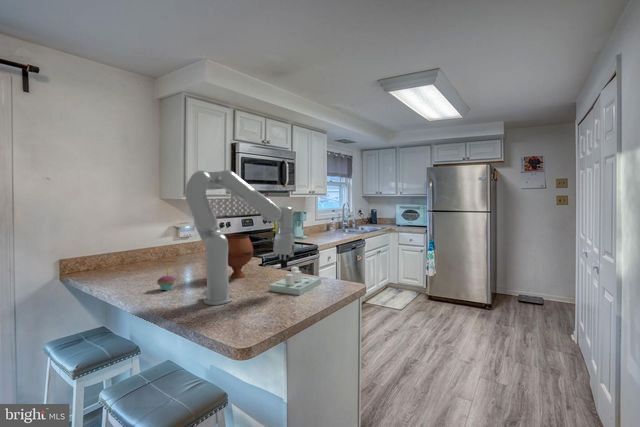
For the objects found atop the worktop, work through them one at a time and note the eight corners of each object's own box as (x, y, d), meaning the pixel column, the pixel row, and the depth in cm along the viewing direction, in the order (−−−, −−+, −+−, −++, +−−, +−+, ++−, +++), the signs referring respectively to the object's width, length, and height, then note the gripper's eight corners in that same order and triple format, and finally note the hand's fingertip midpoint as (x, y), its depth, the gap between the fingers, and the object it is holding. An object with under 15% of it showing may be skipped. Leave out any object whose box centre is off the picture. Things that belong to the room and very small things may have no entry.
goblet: (235, 283, 182) (233, 238, 180) (214, 278, 193) (212, 236, 192) (260, 275, 197) (259, 234, 195) (240, 271, 208) (239, 232, 207)
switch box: (269, 290, 166) (269, 284, 166) (292, 280, 186) (292, 274, 185) (299, 295, 158) (299, 288, 158) (320, 283, 177) (320, 278, 177)
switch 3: (293, 281, 170) (293, 271, 170) (296, 280, 173) (296, 270, 173) (298, 282, 169) (298, 272, 169) (301, 280, 172) (301, 271, 171)
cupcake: (165, 287, 176) (164, 264, 175) (179, 287, 174) (178, 265, 173) (153, 291, 167) (152, 268, 166) (168, 292, 165) (167, 269, 165)
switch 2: (291, 276, 180) (291, 267, 180) (294, 275, 183) (294, 266, 182) (296, 277, 179) (295, 268, 178) (298, 276, 181) (298, 267, 181)
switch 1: (285, 285, 164) (285, 275, 164) (288, 283, 166) (288, 273, 166) (290, 285, 162) (290, 275, 162) (293, 284, 165) (293, 274, 165)
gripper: (267, 230, 164) (267, 267, 165) (293, 232, 157) (292, 270, 158) (276, 229, 171) (275, 264, 171) (301, 231, 164) (300, 268, 165)
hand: (283, 267), depth 165 cm, fingers closed
